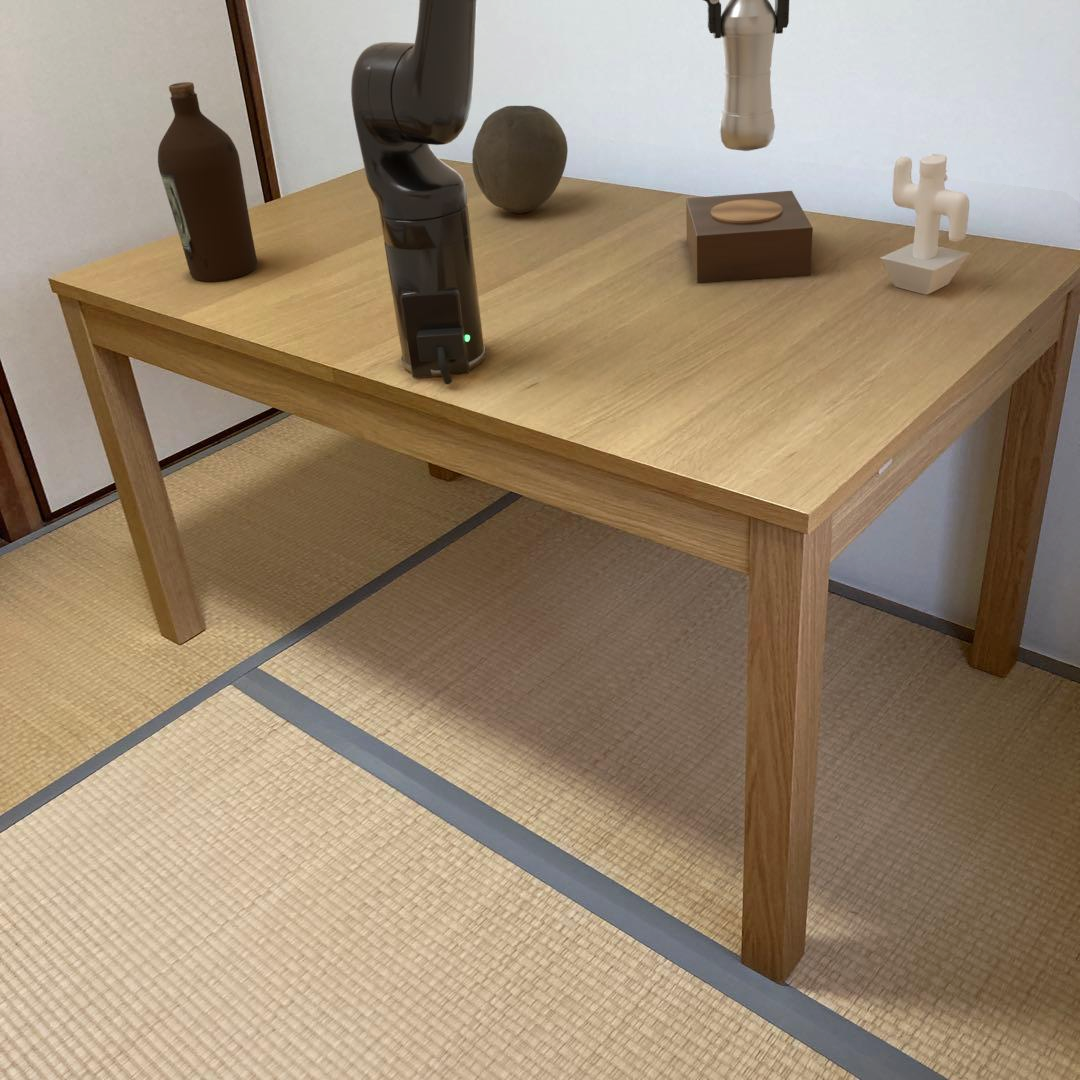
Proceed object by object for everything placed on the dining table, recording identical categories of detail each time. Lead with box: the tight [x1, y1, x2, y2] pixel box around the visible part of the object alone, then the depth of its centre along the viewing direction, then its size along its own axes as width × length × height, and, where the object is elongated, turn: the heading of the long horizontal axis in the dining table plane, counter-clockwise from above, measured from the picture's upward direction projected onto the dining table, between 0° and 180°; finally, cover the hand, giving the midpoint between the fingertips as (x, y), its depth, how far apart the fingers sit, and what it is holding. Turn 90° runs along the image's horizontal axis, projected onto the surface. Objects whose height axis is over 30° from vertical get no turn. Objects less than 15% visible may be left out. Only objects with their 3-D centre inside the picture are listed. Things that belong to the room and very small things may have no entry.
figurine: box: [879, 153, 970, 296], centre depth 133 cm, size 7×9×15 cm
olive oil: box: [157, 81, 258, 282], centre depth 157 cm, size 11×11×25 cm
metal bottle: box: [718, 0, 777, 152], centre depth 138 cm, size 6×7×20 cm
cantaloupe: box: [471, 105, 569, 214], centre depth 173 cm, size 14×14×15 cm
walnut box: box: [685, 190, 814, 284], centre depth 149 cm, size 16×14×6 cm
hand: (747, 34), depth 136 cm, fingers closed on metal bottle, 6 cm apart
